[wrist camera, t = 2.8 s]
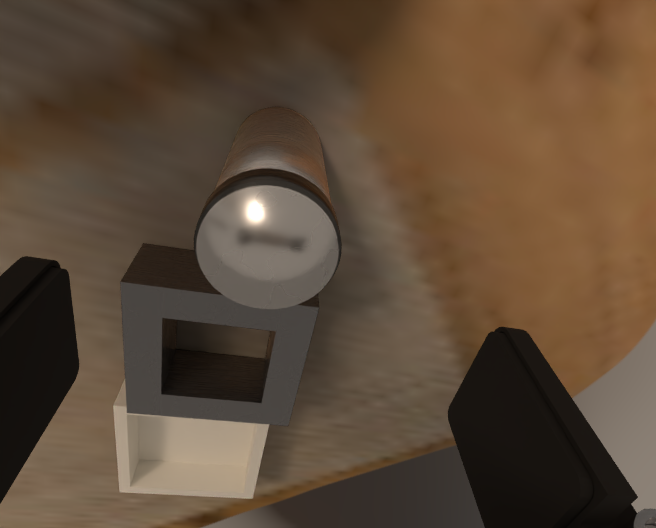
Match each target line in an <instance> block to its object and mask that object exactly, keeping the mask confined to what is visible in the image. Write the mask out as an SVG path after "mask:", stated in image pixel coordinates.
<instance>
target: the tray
mask: <svg viewBox="0 0 656 528" xmlns="http://www.w3.org/2000/svg"><path fill="white" fill-rule="evenodd" d="M113 409H114V423H115V436H116V450H117V464H118V477H119V491H120V492H127V493H147V494H167V495H187V496H207V497H227V498H247V499H253V494H254V490H255V486H256V481H257V477H258V472H259V468H260V463H261V459H262V454H263V450H264V446H265V441H266V437H267V432H268V428H269V424H257V423H244V422H232V421H219V420H207V419H194V418H182V417H169V416H157V415H144V414H132V413H127V406H126V386H125V380H124V382H123V384H122V386H121V389H120V391H119V393H118V396H117V398H116V400H115V403H114V405H113Z"/></svg>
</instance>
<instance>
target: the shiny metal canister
mask: <svg viewBox="0 0 656 528" xmlns="http://www.w3.org/2000/svg"><path fill="white" fill-rule="evenodd" d="M194 250H195V256H196V259H197V262H198V265H199V267H200V269H201V271H202V272H203V274H204V275H205V277H206V278H207V280H208V281H209V282H210V283H211V284H212V286H213V287H214V288H215V289H217V290H218V291H219V292H220V293H221V294H223V295H224V296H226V297H227V298H229V299H231V300H233V301H235V302H237V303H240V304H242V305H245V306H249V307H253V308H259V309H281V308H287V307H291V306H294V305H297V304H300V303H302V302H304V301H306V300H308V299H310V298H311V297H313V296H315V295H316V294H317V293H318V292H320V291H321V290H322V289H323V288H324V287H325V285H326V284H327V283H328V282H329V281H330V280H331V278H332V277H333V275H334V273H335V271H336V270H337V267H338V264H339V261H340V257H341V237H340V231H339V226H338V221H337V217H336V213H335V211H334V208H333V206H332V204H331V199H330V194H329V188H328V182H327V176H326V170H325V165H324V159H323V153H322V147H321V142H320V138H319V136H318V133H317V131H316V130H315V128H314V127H313V125H312V124H311V123H310V122H309V121H308V120H307V119H306V118H305V117H304V116H302V115H301V114H299V113H298V112H296V111H293V110H291V109H287V108H282V107H270V108H265V109H262V110H259V111H257V112H255V113H253V114H252V115H250V116H249V117H248V118H247V119H246V120H245V121H244V122H243V123H242V125H241V126H240V128H239V130H238V132H237V134H236V137H235V139H234V142H233V144H232V147H231V150H230V152H229V155H228V157H227V160H226V162H225V165H224V167H223V170H222V172H221V175H220V177H219V180H218V183H217V185H216V188H215V190H214V191H213V193H212V194H211V195H210V197H209V198H208V200H207V202H206V204H205V206H204V208H203V211H202V213H201V216H200V218H199V221H198V223H197V226H196V230H195V235H194Z"/></svg>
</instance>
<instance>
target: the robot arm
mask: <svg viewBox="0 0 656 528" xmlns="http://www.w3.org/2000/svg"><path fill="white" fill-rule="evenodd" d="M78 370H79V358H78V349H77V341H76V332H75V323H74V315H73V306H72V298H71V289H70V280H69V274H68V271H67V270H65V269H61V268H60V265H59V263H58V262H57V261H55V260H48V259H41V258H35V257H28V256H25V257H22V258H20V259H19V260H18V261H16V262H15V263H14V264H13V265H12V266H11V267H10V268H9V269H8V270H6V271H5V272H4V273H3V274H2V275H1V276H0V503H1V502H2V500H3V498H4V497H5V495H6V494H7V492H8V490H9V489H10V487H11V485H12V484H13V482H14V480H15V479H16V477H17V475H18V474H19V472H20V470H21V469H22V467H23V465H24V464H25V462H26V460H27V459H28V457H29V455H30V454H31V452H32V451H33V449H34V447H35V446H36V444H37V442H38V441H39V439H40V437H41V436H42V434H43V432H44V431H45V429H46V427H47V426H48V424H49V422H50V421H51V419H52V417H53V416H54V414H55V413H56V411H57V409H58V408H59V406H60V404H61V403H62V401H63V399H64V398H65V396H66V394H67V393H68V391H69V389H70V388H71V386H72V384H73V383H74V381H75V379H76V377H77V374H78ZM448 420H449V424H450V427H451V430H452V433H453V435H454V438H455V441H456V444H457V447H458V450H459V453H460V456H461V459H462V461H463V465H464V467H465V470H466V474H467V476H468V479H469V482H470V485H471V488H472V491H473V494H474V497H475V500H476V503H477V506H478V509H479V511H480V514H481V518H482V520H483V523H484V526H485V528H656V509H643V510H641V511H640V512H638V513H636V511H635V509H634V508H633V506H632V505H631V503H632V502H633V501H634V500H636V499H637V498H638V496H637V495H636V494H635V492H634V491H633V489H632V488H631V486H630V485H629V483H628V482H627V480H626V479H625V477H624V476H623V474H622V473H621V471H620V470H619V468H618V467H617V465H616V464H615V462H614V461H613V460H612V458H611V456H610V455H609V453H608V452H607V450H606V449H605V447H604V446H603V444H602V443H601V441H600V440H599V438H598V437H597V435H596V434H595V432H594V431H593V429H592V428H591V426H590V425H589V423H588V422H587V420H586V419H585V418H584V416H583V414H582V413H581V411H580V410H579V408H578V407H577V405H576V404H575V403H574V401H573V399H572V398H571V396H570V395H569V393H568V392H567V390H566V389H565V387H564V386H563V385H562V383H561V382H560V380H559V379H558V377H557V376H556V374H555V373H554V371H553V370H552V368H551V367H550V365H549V364H548V362H547V361H546V359H545V358H544V356H543V355H542V353H541V352H540V350H539V349H538V347H537V346H536V344H535V343H534V341H533V340H532V338H531V337H530V335H529V334H528V333H527V332H526V331H524V330H521V329H514V328H507V327H499V328H497V329H496V330H495V331H494V332H490V333H489V334H488V335H487V337H486V339H485V341H484V343H483V345H482V346H481V348H480V350H479V352H478V354H477V356H476V358H475V360H474V361H473V363H472V365H471V367H470V369H469V371H468V373H467V374H466V376H465V378H464V380H463V382H462V384H461V386H460V387H459V389H458V391H457V393H456V395H455V397H454V399H453V401H452V402H451V404H450V406H449V410H448Z"/></svg>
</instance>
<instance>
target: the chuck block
mask: <svg viewBox="0 0 656 528" xmlns="http://www.w3.org/2000/svg"><path fill="white" fill-rule="evenodd" d="M120 284H121V304H122V325H123V345H124V365H125V386H126V406H127V413H132V414H144V415H157V416H169V417H182V418H194V419H207V420H219V421H232V422H244V423H257V424H269V425H282V426H288V425H289V421H290V417H291V413H292V409H293V406H294V402H295V398H296V394H297V390H298V386H299V383H300V379H301V375H302V371H303V367H304V364H305V360H306V356H307V352H308V348H309V345H310V341H311V337H312V333H313V329H314V325H315V322H316V318H317V314H318V310H319V299H318V293H317V294H316V295H315V296H313V297H311V298H310V299H308V300H306V301H304V302H302V303H300V304H297V305H294V306H291V307H287V308H281V309H259V308H253V307H249V306H245V305H242V304H240V303H237V302H235V301H233V300H231V299H229V298H227V297H226V296H224V295H223V294H221V293H220V292H219V291H218V290H217V289H215V288H214V287H213V286H212V284H211V283H210V282H209V281H208V280H207V278H206V277H205V275H204V274H203V272H202V271H201V269H200V267H199V265H198V262H197V259H196V256H195V251H192V250H185V249H178V248H171V247H165V246H158V245H151V244H144V243H143V245H142V246H141V248H140V250H139V251H138V253H137V255H136V256H135V258H134V260H133V261H132V263H131V265H130V267H129V268H128V270H127V272H126V273H125V275H124V277H123V278H122V280H121V282H120ZM177 320H184V321H193V322H201V323H210V324H218V325H227V326H235V327H244V328H252V329H261V330H269V331H270V336H269V341H268V346H267V351H266V357H265V359H261V358H252V357H242V356H233V355H224V354H214V353H205V352H195V351H186V350H177V349H176V331H177Z"/></svg>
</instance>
